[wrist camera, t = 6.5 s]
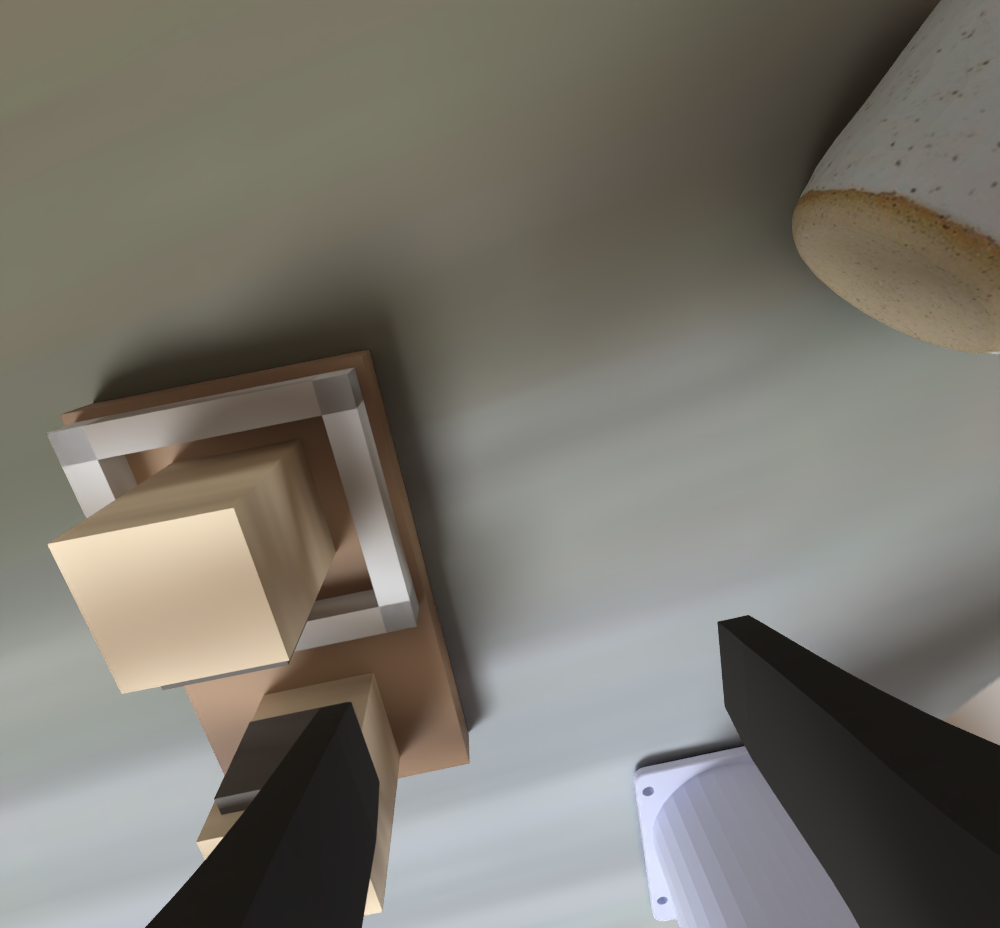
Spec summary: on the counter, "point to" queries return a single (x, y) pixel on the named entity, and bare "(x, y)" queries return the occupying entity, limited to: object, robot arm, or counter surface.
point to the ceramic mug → (919, 189)
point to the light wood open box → (345, 590)
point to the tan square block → (202, 567)
